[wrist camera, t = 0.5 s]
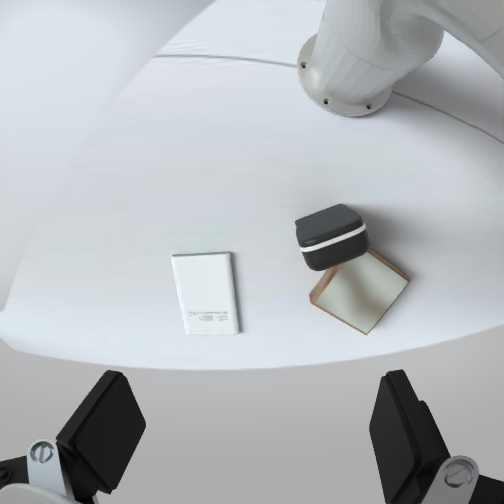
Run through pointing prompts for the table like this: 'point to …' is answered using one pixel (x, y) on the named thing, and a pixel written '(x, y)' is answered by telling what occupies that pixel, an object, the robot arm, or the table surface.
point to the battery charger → (331, 237)
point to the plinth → (359, 290)
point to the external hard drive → (206, 293)
